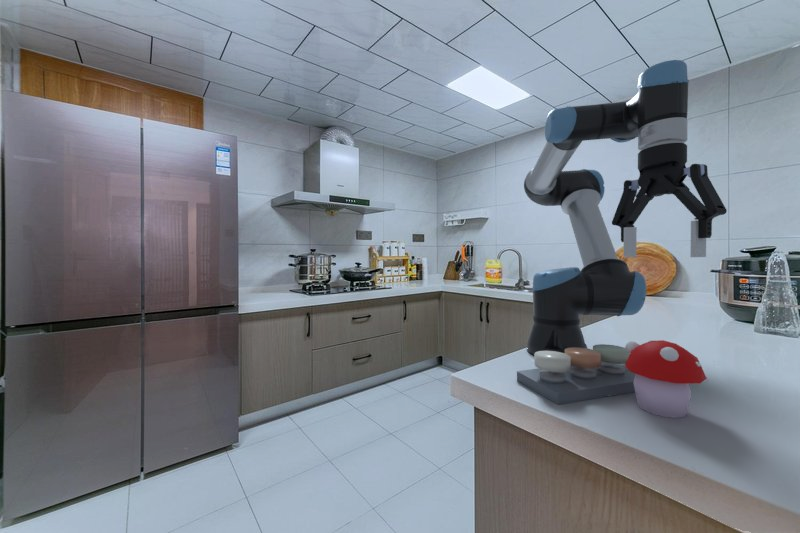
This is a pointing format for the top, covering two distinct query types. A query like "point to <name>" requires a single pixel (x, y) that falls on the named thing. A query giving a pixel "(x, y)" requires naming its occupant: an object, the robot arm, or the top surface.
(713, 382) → the top surface
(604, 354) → the sage cap
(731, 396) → the top surface
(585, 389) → the button board
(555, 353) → the white flat dome
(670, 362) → the mushroom
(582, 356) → the terracotta cap
